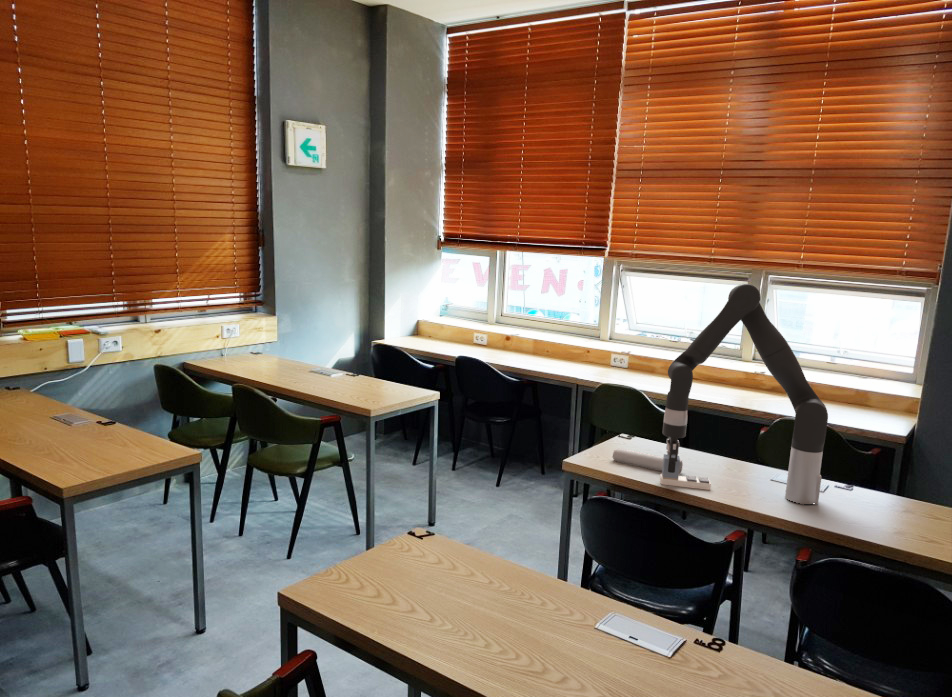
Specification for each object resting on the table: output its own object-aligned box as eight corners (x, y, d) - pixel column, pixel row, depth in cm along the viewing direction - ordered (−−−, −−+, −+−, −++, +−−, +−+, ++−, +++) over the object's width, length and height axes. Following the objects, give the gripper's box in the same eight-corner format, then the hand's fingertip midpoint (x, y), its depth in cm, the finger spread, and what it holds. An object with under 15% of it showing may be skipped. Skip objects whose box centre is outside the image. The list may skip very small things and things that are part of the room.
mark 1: (695, 478, 241) (695, 476, 241) (696, 481, 237) (696, 480, 237) (686, 477, 241) (686, 475, 241) (687, 480, 238) (687, 479, 237)
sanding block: (677, 475, 243) (679, 455, 241) (678, 480, 238) (680, 460, 237) (661, 474, 243) (663, 454, 242) (662, 478, 239) (664, 458, 238)
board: (708, 484, 241) (709, 479, 240) (710, 489, 236) (710, 484, 236) (659, 479, 244) (660, 473, 244) (660, 484, 239) (661, 478, 239)
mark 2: (707, 479, 240) (707, 477, 240) (709, 483, 236) (709, 481, 236) (698, 478, 241) (698, 476, 241) (699, 482, 237) (699, 480, 237)
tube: (609, 451, 260) (677, 465, 247) (615, 444, 264) (682, 457, 251) (610, 464, 262) (678, 478, 249) (616, 456, 266) (682, 470, 253)
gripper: (688, 428, 230) (683, 476, 233) (685, 417, 244) (680, 463, 246) (664, 425, 232) (659, 473, 234) (662, 415, 245) (657, 460, 248)
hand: (670, 468), depth 240 cm, fingers open, 8 cm apart
